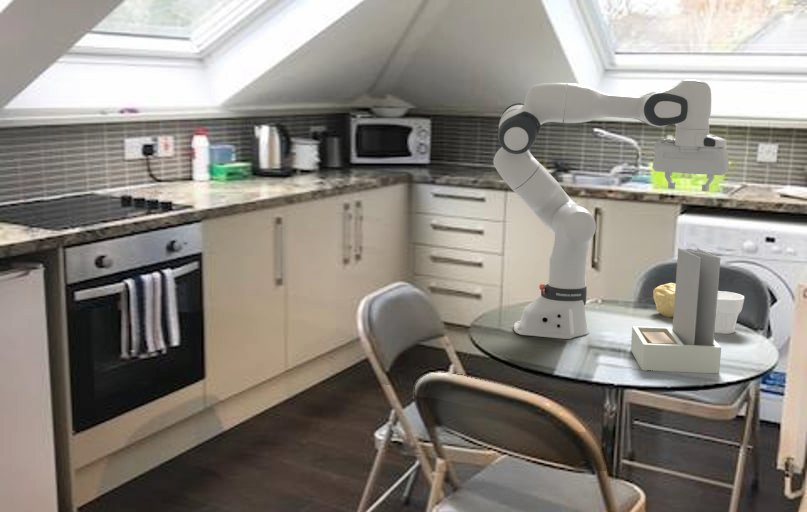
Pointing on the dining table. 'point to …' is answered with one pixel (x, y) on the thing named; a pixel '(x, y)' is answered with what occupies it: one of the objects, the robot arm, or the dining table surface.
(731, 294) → the cup
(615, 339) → the dining table surface
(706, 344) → the brochure
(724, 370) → the dining table surface
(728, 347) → the dining table surface
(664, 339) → the offcut top
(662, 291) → the yellow rounded lump
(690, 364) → the divided tray
